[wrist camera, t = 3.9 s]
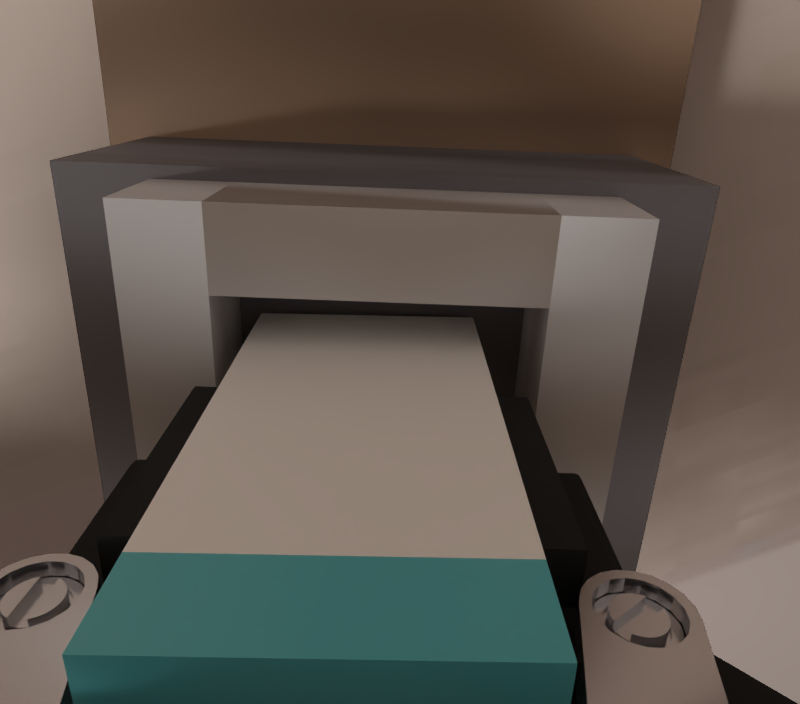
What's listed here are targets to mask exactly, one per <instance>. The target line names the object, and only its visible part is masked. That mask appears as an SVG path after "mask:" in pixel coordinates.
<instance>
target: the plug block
mask: <svg viewBox="0 0 800 704" xmlns="http://www.w3.org/2000/svg"><path fill="white" fill-rule="evenodd" d="M62 657H63V661H64V666H65V670H66V674H67V679H68V683H69V687H70V691H71V696H72V700H73V704H571V699H572V693H573V688H574V682H575V676H576V670H577V664H578V663H577V660H576V656H575V653H574V650H573V646H572V643H571V640H570V637H569V633H568V630H567V627H566V623H565V620H564V617H563V613H562V610H561V607H560V604H559V600H558V597H557V594H556V590H555V587H554V584H553V580H552V577H551V574H550V570H549V567H548V564H547V561H546V557H545V554H544V551H543V547H542V544H541V541H540V537H539V534H538V531H537V527H536V524H535V521H534V518H533V514H532V511H531V508H530V504H529V501H528V498H527V494H526V491H525V488H524V485H523V481H522V478H521V475H520V471H519V468H518V465H517V461H516V458H515V455H514V451H513V448H512V445H511V442H510V438H509V435H508V432H507V428H506V425H505V422H504V418H503V415H502V412H501V408H500V405H499V402H498V399H497V395H496V392H495V389H494V385H493V382H492V379H491V375H490V372H489V369H488V366H487V362H486V359H485V356H484V352H483V349H482V346H481V342H480V339H479V336H478V332H477V329H476V326H475V323H474V319H473V318H471V317H424V316H376V315H328V314H281V313H261V315H260V316H259V318H258V320H257V322H256V323H255V325H254V327H253V328H252V330H251V332H250V334H249V335H248V337H247V339H246V340H245V342H244V344H243V346H242V347H241V349H240V351H239V352H238V354H237V356H236V358H235V359H234V361H233V363H232V364H231V366H230V368H229V370H228V371H227V373H226V375H225V376H224V378H223V380H222V382H221V383H220V385H219V387H218V388H217V390H216V392H215V394H214V395H213V397H212V399H211V400H210V402H209V404H208V406H207V407H206V409H205V411H204V412H203V414H202V416H201V418H200V419H199V421H198V423H197V424H196V426H195V428H194V430H193V431H192V433H191V435H190V436H189V438H188V440H187V442H186V443H185V445H184V447H183V448H182V450H181V452H180V453H179V455H178V457H177V459H176V460H175V462H174V464H173V465H172V467H171V469H170V471H169V472H168V474H167V476H166V477H165V479H164V481H163V483H162V484H161V486H160V488H159V489H158V491H157V493H156V495H155V496H154V498H153V500H152V501H151V503H150V505H149V507H148V508H147V510H146V512H145V513H144V515H143V517H142V519H141V520H140V522H139V524H138V525H137V527H136V529H135V531H134V532H133V534H132V536H131V537H130V539H129V541H128V543H127V544H126V546H125V548H124V549H123V551H122V553H121V555H120V556H119V558H118V560H117V561H116V563H115V565H114V567H113V568H112V570H111V572H110V573H109V575H108V577H107V579H106V580H105V582H104V584H103V585H102V587H101V589H100V591H99V592H98V594H97V596H96V597H95V599H94V601H93V603H92V604H91V606H90V608H89V609H88V611H87V613H86V614H85V616H84V618H83V620H82V621H81V623H80V625H79V626H78V628H77V630H76V632H75V633H74V635H73V637H72V638H71V640H70V642H69V644H68V645H67V647H66V649H65V650H64V652H63V654H62Z"/></svg>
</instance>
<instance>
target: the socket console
mask: <svg viewBox="0 0 800 704" xmlns="http://www.w3.org/2000/svg"><path fill="white" fill-rule="evenodd" d="M92 1H93V9H94V17H95V25H96V33H97V41H98V49H99V57H100V65H101V73H102V81H103V89H104V97H105V105H106V113H107V120H108V128H109V136H110V144H111V146H108V147H104V148H100V149H95V150H91V151H87V152H83V153H79V154H75V155H70V156H66V157H62V158H58V159H54V160H50V166H51V172H52V178H53V184H54V190H55V197H56V203H57V209H58V215H59V221H60V228H61V234H62V240H63V246H64V252H65V259H66V265H67V271H68V277H69V283H70V290H71V296H72V302H73V308H74V314H75V321H76V327H77V333H78V339H79V345H80V352H81V358H82V364H83V370H84V376H85V383H86V389H87V395H88V401H89V407H90V414H91V420H92V426H93V432H94V438H95V445H96V451H97V457H98V463H99V469H100V476H101V482H102V488H103V494H104V500H105V501H106V500H107V498H108V497H109V495H110V494H111V492H112V491H113V490H114V488H115V487H116V485H117V484H118V482H119V481H120V480H121V478H122V477H123V475H124V474H125V472H126V471H127V469H128V468H129V467H130V465H131V464H132V463H133V462H134V461H135V460H139V459H142V460H146V459H147V457H148V456H149V454H150V453H151V451H152V450H153V448H154V447H155V445H156V444H157V442H158V441H159V439H160V438H161V436H162V435H163V433H164V432H165V430H166V429H167V427H168V426H169V424H170V423H171V421H172V420H173V418H174V417H175V415H176V414H177V412H178V411H179V409H180V408H181V406H182V405H183V403H184V402H185V400H186V399H187V397H188V396H189V394H190V393H191V391H192V390H193V388H194V387H195V386H203V387H219V385H220V383H221V382H222V380H223V378H224V376H225V375H226V373H227V371H228V370H229V368H230V366H231V364H232V363H233V361H234V359H235V358H236V356H237V354H238V352H239V351H240V349H241V347H242V346H243V344H244V342H245V340H246V339H247V337H248V335H249V334H250V332H251V330H252V328H253V327H254V325H255V323H256V322H257V320H258V318H259V316H260V315H261V313H281V314H328V315H376V316H424V317H471V318H473V319H474V323H475V326H476V329H477V332H478V336H479V339H480V342H481V346H482V349H483V352H484V356H485V359H486V362H487V366H488V369H489V372H490V375H491V379H492V382H493V385H494V389H495V392H496V395H497V396H502V397H527V398H528V399H529V402H530V404H531V407H532V409H533V412H534V414H535V417H536V419H537V422H538V424H539V427H540V429H541V432H542V434H543V437H544V439H545V442H546V444H547V447H548V449H549V452H550V454H551V457H552V459H553V462H554V464H555V467H556V469H557V472H558V473H576V474H578V475H579V476H580V478H581V479H582V481H583V484H584V486H585V488H586V490H587V493H588V495H589V497H590V499H591V501H592V504H593V506H594V508H595V510H596V512H597V515H598V517H599V519H600V521H601V523H602V526H603V528H604V530H605V532H606V535H607V537H608V539H609V541H610V543H611V546H612V548H613V550H614V552H615V554H616V557H617V559H618V561H619V563H620V566H621V568H622V570H627V571H636V567H637V562H638V558H639V553H640V549H641V544H642V540H643V535H644V531H645V526H646V521H647V517H648V512H649V508H650V503H651V499H652V494H653V490H654V485H655V481H656V476H657V471H658V467H659V462H660V458H661V453H662V449H663V444H664V440H665V435H666V430H667V426H668V421H669V417H670V412H671V408H672V403H673V399H674V394H675V390H676V385H677V380H678V376H679V371H680V367H681V362H682V358H683V353H684V349H685V344H686V340H687V335H688V330H689V326H690V321H691V317H692V312H693V308H694V303H695V299H696V294H697V290H698V285H699V280H700V276H701V271H702V267H703V262H704V258H705V253H706V249H707V244H708V239H709V235H710V230H711V226H712V221H713V217H714V212H715V208H716V203H717V199H718V194H719V189H720V187H719V186H716V185H713V184H710V183H708V182H705V181H702V180H699V179H696V178H693V177H691V176H688V175H685V174H682V173H679V172H677V171H674V170H671V169H670V166H671V161H672V156H673V150H674V145H675V140H676V135H677V129H678V124H679V119H680V113H681V108H682V103H683V98H684V92H685V87H686V82H687V76H688V71H689V66H690V61H691V55H692V50H693V45H694V39H695V34H696V29H697V24H698V18H699V13H700V8H701V2H702V0H92Z"/></svg>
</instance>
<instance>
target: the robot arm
mask: <svg viewBox="0 0 800 704" xmlns="http://www.w3.org/2000/svg"><path fill="white" fill-rule="evenodd" d="M217 388H218V387H203V386H195V387H194V388H193V390H192V391H191V393H190V394H189V396H188V397H187V399H186V400H185V402H184V403H183V405H182V406H181V408H180V409H179V411H178V412H177V414H176V415H175V417H174V418H173V420H172V421H171V423H170V424H169V426H168V427H167V429H166V430H165V432H164V433H163V435H162V436H161V438H160V439H159V441H158V442H157V444H156V445H155V447H154V448H153V450H152V451H151V453H150V454H149V456H148V457H147V459H146V460H142V459H139V460H135V461H134V462H133V463H132V464H131V465H130V467H129V468H128V469H127V471H126V472H125V474H124V475H123V477H122V478H121V480H120V481H119V482H118V484H117V485H116V487H115V488H114V490H113V491H112V492H111V494H110V495H109V497H108V498H107V500H106V501H105V503H104V504H103V505H102V507H101V508H100V510H99V511H98V513H97V514H96V516H95V517H94V518H93V520H92V521H91V523H90V524H89V526H88V527H87V528H86V530H85V531H84V533H83V534H82V536H81V537H80V539H79V540H78V541H77V543H76V544H75V546H74V547H73V549H72V550H71V551H70V553H69V554H53V553H50V554H45V555H39V556H33V557H29V558H26V559H24V560H21V561H18V562H15V563H12V564H10V565H8V566H6V567H4V568H2V569H0V704H73V700H72V696H71V691H70V687H69V683H68V679H67V674H66V670H65V666H64V661H63V657H62V654H63V652H64V650H65V649H66V647H67V645H68V644H69V642H70V640H71V638H72V637H73V635H74V633H75V632H76V630H77V628H78V626H79V625H80V623H81V621H82V620H83V618H84V616H85V614H86V613H87V611H88V609H89V608H90V606H91V604H92V603H93V601H94V599H95V597H96V596H97V594H98V592H99V591H100V589H101V587H102V585H103V584H104V582H105V580H106V579H107V577H108V575H109V573H110V572H111V570H112V568H113V567H114V565H115V563H116V561H117V560H118V558H119V556H120V555H121V553H122V551H123V549H124V548H125V546H126V544H127V543H128V541H129V539H130V537H131V536H132V534H133V532H134V531H135V529H136V527H137V525H138V524H139V522H140V520H141V519H142V517H143V515H144V513H145V512H146V510H147V508H148V507H149V505H150V503H151V501H152V500H153V498H154V496H155V495H156V493H157V491H158V489H159V488H160V486H161V484H162V483H163V481H164V479H165V477H166V476H167V474H168V472H169V471H170V469H171V467H172V465H173V464H174V462H175V460H176V459H177V457H178V455H179V453H180V452H181V450H182V448H183V447H184V445H185V443H186V442H187V440H188V438H189V436H190V435H191V433H192V431H193V430H194V428H195V426H196V424H197V423H198V421H199V419H200V418H201V416H202V414H203V412H204V411H205V409H206V407H207V406H208V404H209V402H210V400H211V399H212V397H213V395H214V394H215V392H216V390H217ZM497 399H498V402H499V405H500V408H501V412H502V415H503V418H504V422H505V425H506V428H507V432H508V435H509V438H510V442H511V445H512V448H513V451H514V455H515V458H516V461H517V465H518V468H519V471H520V475H521V478H522V481H523V485H524V488H525V491H526V494H527V498H528V501H529V504H530V508H531V511H532V514H533V518H534V521H535V524H536V527H537V531H538V534H539V537H540V541H541V544H542V547H543V551H544V554H545V557H546V561H547V564H548V567H549V570H550V574H551V577H552V580H553V584H554V587H555V590H556V594H557V597H558V600H559V604H560V607H561V610H562V613H563V617H564V620H565V623H566V627H567V630H568V633H569V637H570V640H571V643H572V646H573V650H574V653H575V656H576V660H577V663H578V664H577V670H576V676H575V682H574V688H573V693H572V699H571V704H797V703H795V702H794V701H792V700H790V699H789V698H787V697H785V696H783V695H782V694H780V693H778V692H777V691H775V690H773V689H771V688H770V687H768V686H766V685H765V684H763V683H761V682H760V681H758V680H756V679H754V678H753V677H750V676H749V675H748V674H746V673H744V672H742V671H740V670H739V669H737V668H735V667H734V666H732V665H730V664H729V663H727V662H725V661H723V660H722V659H720V658H718V657H716V656H715V655H713V652H712V649H711V645H710V642H709V639H708V636H707V633H706V629H705V626H704V623H703V620H702V618H701V617H700V614H699V612H698V610H697V609H696V607H695V606H694V605H693V604H692V603H691V601H690V600H689V599H688V598H687V597H686V596H685V595H684V594H683V593H681V592H680V591H679V590H677V589H676V588H674V587H673V586H671V585H670V584H668V583H666V582H664V581H662V580H660V579H658V578H655V577H653V576H651V575H647V574H643V573H639V572H635V571H627V570H622V568H621V566H620V563H619V561H618V559H617V557H616V554H615V552H614V550H613V548H612V546H611V543H610V541H609V539H608V537H607V535H606V532H605V530H604V528H603V526H602V523H601V521H600V519H599V517H598V515H597V512H596V510H595V508H594V506H593V504H592V501H591V499H590V497H589V495H588V493H587V490H586V488H585V486H584V484H583V481H582V479H581V478H580V476H579V475H578V474H576V473H558V472H557V469H556V467H555V464H554V462H553V459H552V457H551V454H550V452H549V449H548V447H547V444H546V442H545V439H544V437H543V434H542V432H541V429H540V427H539V424H538V422H537V419H536V417H535V414H534V412H533V409H532V407H531V404H530V402H529V399H528V398H527V397H502V396H497Z"/></svg>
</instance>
